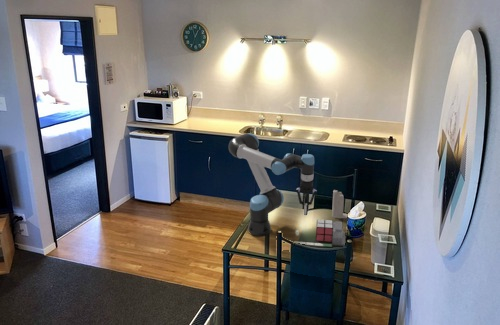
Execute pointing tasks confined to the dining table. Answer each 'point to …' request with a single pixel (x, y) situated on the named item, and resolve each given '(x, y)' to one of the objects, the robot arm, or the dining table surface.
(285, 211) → the dining table surface
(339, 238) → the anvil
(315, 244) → the scale strip
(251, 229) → the robot arm
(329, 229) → the puzzle cube
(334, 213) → the beige l-shaped block
